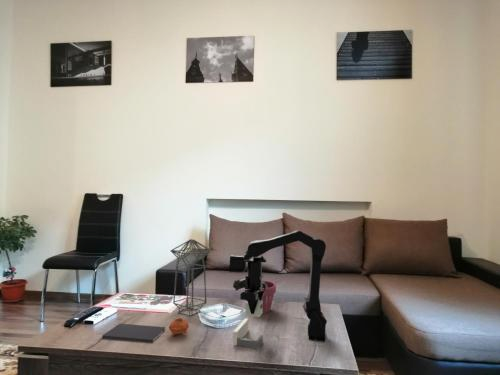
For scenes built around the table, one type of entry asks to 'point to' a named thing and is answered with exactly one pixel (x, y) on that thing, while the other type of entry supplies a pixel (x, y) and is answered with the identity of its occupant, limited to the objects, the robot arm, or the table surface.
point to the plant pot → (268, 296)
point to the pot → (178, 326)
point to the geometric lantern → (191, 271)
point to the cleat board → (241, 332)
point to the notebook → (134, 332)
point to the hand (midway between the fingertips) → (254, 311)
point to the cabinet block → (257, 311)
